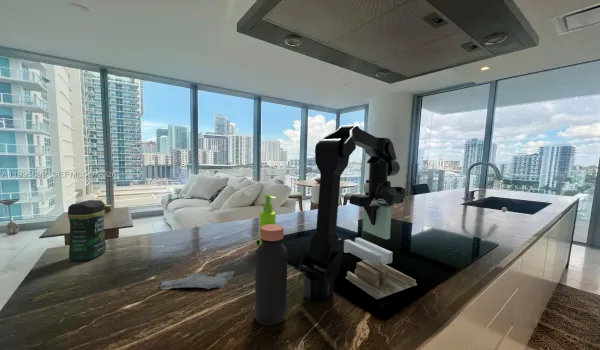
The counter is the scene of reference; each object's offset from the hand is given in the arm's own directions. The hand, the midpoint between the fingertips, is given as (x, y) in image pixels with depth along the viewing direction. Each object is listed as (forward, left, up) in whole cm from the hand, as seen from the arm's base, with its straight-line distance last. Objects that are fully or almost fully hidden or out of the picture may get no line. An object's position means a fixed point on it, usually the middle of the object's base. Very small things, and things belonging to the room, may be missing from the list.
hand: (375, 224), depth 82 cm
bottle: (-41, -10, -14) cm, 44 cm away
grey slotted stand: (+1, +4, -13) cm, 14 cm away
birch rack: (-8, -11, -13) cm, 19 cm away
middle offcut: (-11, -11, -12) cm, 20 cm away
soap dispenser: (-26, +29, -14) cm, 42 cm away
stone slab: (-53, +13, -14) cm, 56 cm away
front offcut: (-14, -11, -12) cm, 21 cm away
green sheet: (0, 0, -3) cm, 3 cm away
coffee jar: (-83, +46, -14) cm, 96 cm away
